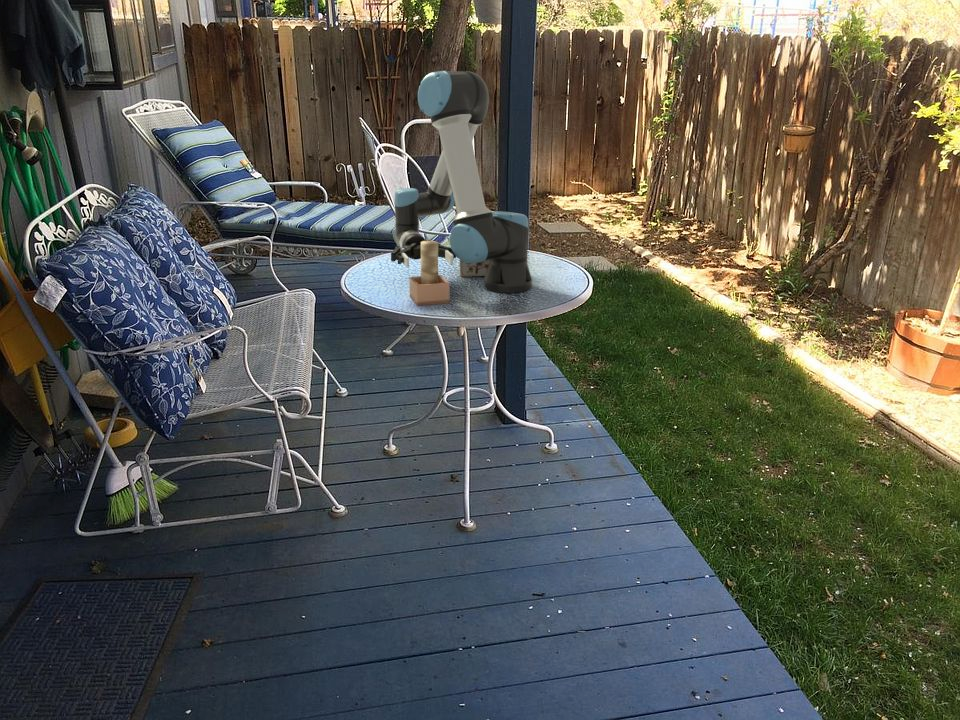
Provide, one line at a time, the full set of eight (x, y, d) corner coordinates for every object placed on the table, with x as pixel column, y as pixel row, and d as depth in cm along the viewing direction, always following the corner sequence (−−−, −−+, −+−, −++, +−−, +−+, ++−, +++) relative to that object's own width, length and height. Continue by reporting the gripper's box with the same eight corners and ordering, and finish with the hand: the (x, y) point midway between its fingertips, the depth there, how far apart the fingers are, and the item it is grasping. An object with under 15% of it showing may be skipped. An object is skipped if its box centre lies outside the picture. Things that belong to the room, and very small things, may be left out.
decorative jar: (495, 268, 255) (496, 215, 248) (495, 277, 244) (495, 222, 238) (460, 268, 255) (460, 215, 249) (458, 277, 244) (458, 222, 238)
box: (441, 294, 226) (440, 274, 223) (449, 303, 217) (449, 283, 215) (409, 296, 223) (409, 277, 221) (417, 305, 214) (416, 285, 212)
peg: (435, 293, 223) (435, 240, 217) (440, 298, 218) (440, 244, 212) (419, 294, 221) (418, 241, 215) (423, 299, 217) (423, 244, 211)
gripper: (452, 254, 236) (471, 271, 217) (375, 259, 229) (388, 277, 210) (451, 231, 233) (471, 246, 214) (374, 235, 227) (387, 250, 208)
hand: (430, 261), depth 212 cm, fingers open, 12 cm apart
